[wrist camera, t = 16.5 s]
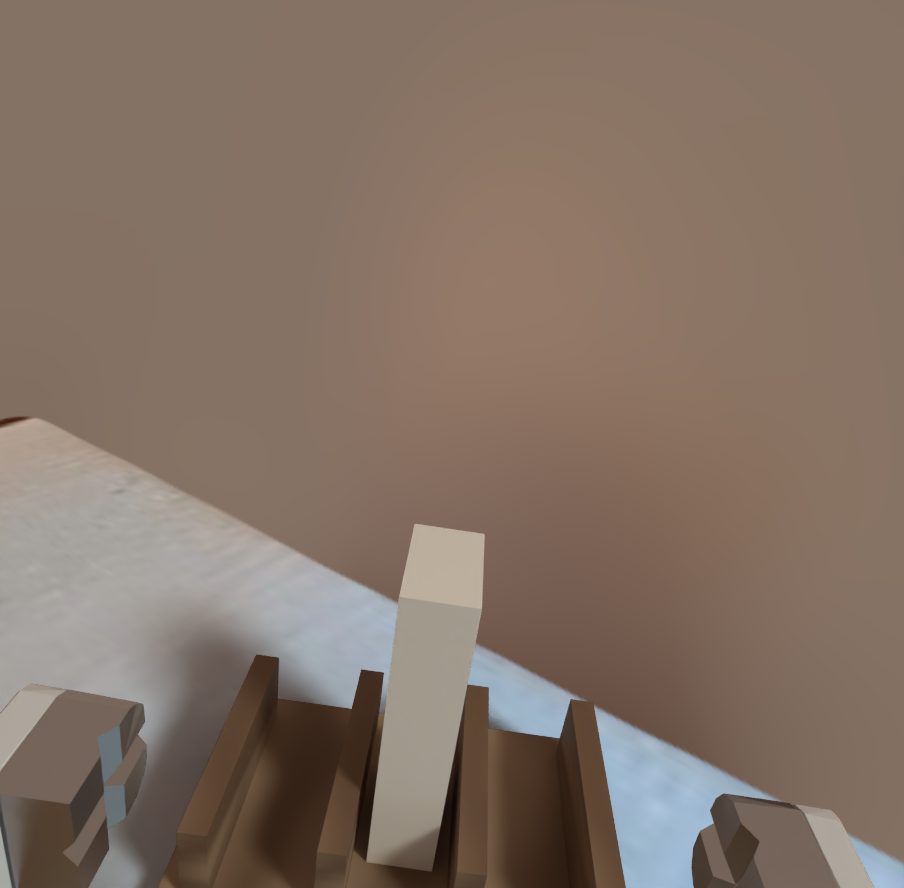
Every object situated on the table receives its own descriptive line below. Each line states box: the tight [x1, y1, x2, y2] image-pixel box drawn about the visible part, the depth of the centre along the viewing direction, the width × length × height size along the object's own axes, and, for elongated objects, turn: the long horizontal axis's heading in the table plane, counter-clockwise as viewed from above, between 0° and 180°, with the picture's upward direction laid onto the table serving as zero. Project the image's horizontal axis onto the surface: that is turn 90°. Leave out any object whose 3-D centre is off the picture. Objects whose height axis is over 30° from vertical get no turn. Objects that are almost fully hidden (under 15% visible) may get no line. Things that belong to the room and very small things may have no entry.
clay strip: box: [366, 524, 484, 872], centre depth 30 cm, size 3×5×15 cm, turn 177°
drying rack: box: [158, 655, 626, 888], centre depth 33 cm, size 20×12×6 cm, turn 87°
